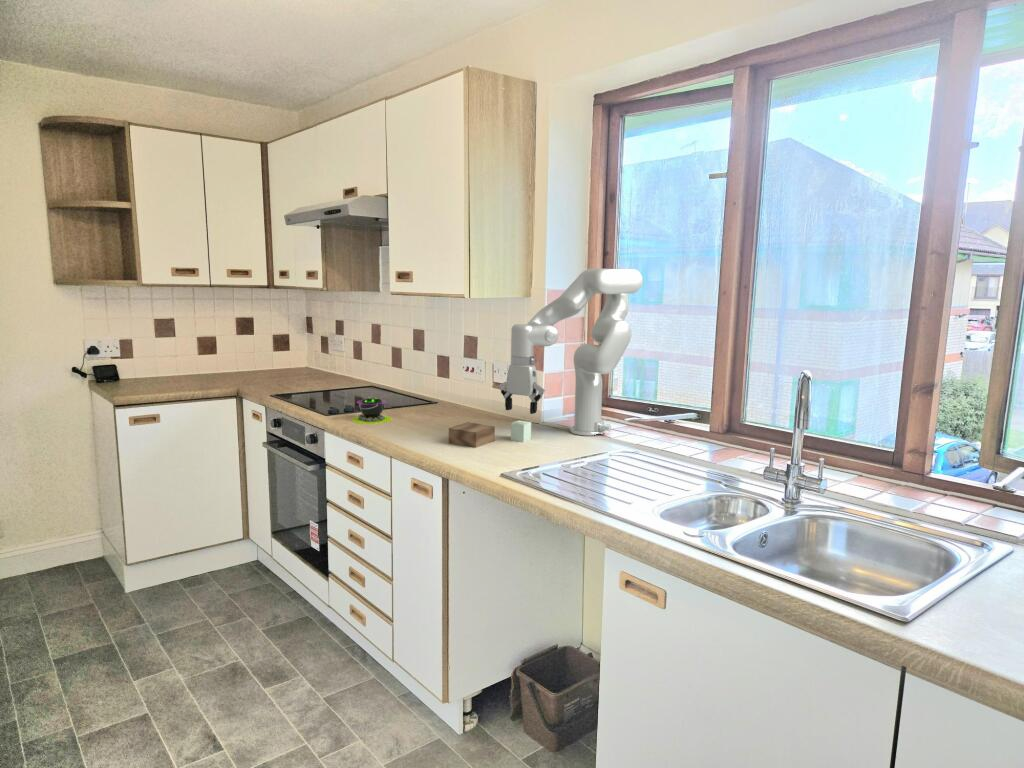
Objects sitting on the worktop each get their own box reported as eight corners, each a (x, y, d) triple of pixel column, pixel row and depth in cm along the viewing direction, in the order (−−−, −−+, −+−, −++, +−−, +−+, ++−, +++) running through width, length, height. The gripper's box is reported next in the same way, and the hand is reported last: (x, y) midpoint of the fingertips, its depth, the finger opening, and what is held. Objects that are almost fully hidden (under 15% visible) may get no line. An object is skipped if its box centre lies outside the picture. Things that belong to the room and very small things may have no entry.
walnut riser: (494, 440, 225) (494, 426, 224) (475, 447, 216) (476, 432, 215) (468, 436, 231) (468, 422, 230) (448, 442, 221) (448, 428, 221)
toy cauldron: (344, 419, 256) (343, 391, 254) (378, 414, 266) (378, 387, 264) (364, 426, 245) (364, 396, 243) (399, 420, 255) (399, 392, 253)
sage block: (531, 439, 228) (531, 422, 227) (523, 442, 224) (523, 424, 223) (518, 437, 230) (518, 420, 229) (510, 440, 226) (511, 423, 225)
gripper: (550, 362, 221) (548, 412, 224) (506, 358, 230) (505, 406, 233) (538, 364, 215) (537, 416, 218) (494, 360, 224) (493, 410, 227)
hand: (520, 411), depth 225 cm, fingers open, 9 cm apart
